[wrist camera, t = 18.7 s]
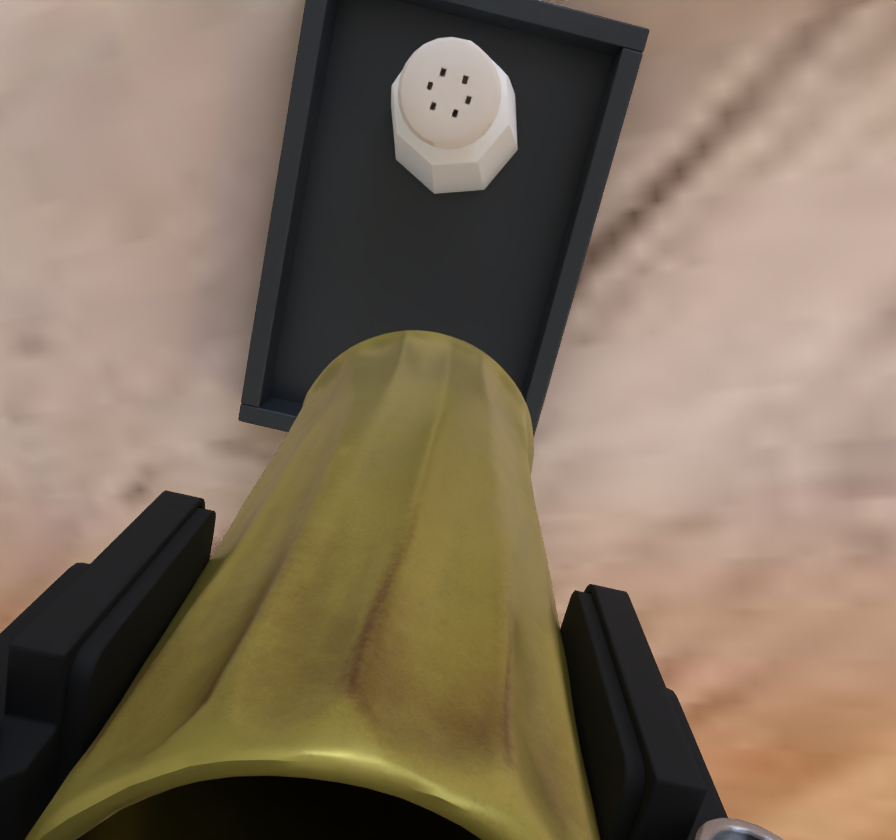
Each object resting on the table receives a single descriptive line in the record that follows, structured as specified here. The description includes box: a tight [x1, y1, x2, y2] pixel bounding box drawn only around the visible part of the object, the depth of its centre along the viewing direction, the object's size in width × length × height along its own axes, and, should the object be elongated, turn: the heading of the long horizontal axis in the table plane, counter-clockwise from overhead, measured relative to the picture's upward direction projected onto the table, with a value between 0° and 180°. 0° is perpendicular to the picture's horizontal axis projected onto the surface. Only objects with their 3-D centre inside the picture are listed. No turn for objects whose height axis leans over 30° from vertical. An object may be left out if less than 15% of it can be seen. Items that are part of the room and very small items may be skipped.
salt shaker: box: [391, 37, 518, 194], centre depth 25 cm, size 5×5×11 cm
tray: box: [238, 0, 649, 438], centre depth 31 cm, size 19×13×2 cm
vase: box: [25, 330, 601, 840], centre depth 13 cm, size 6×6×14 cm
